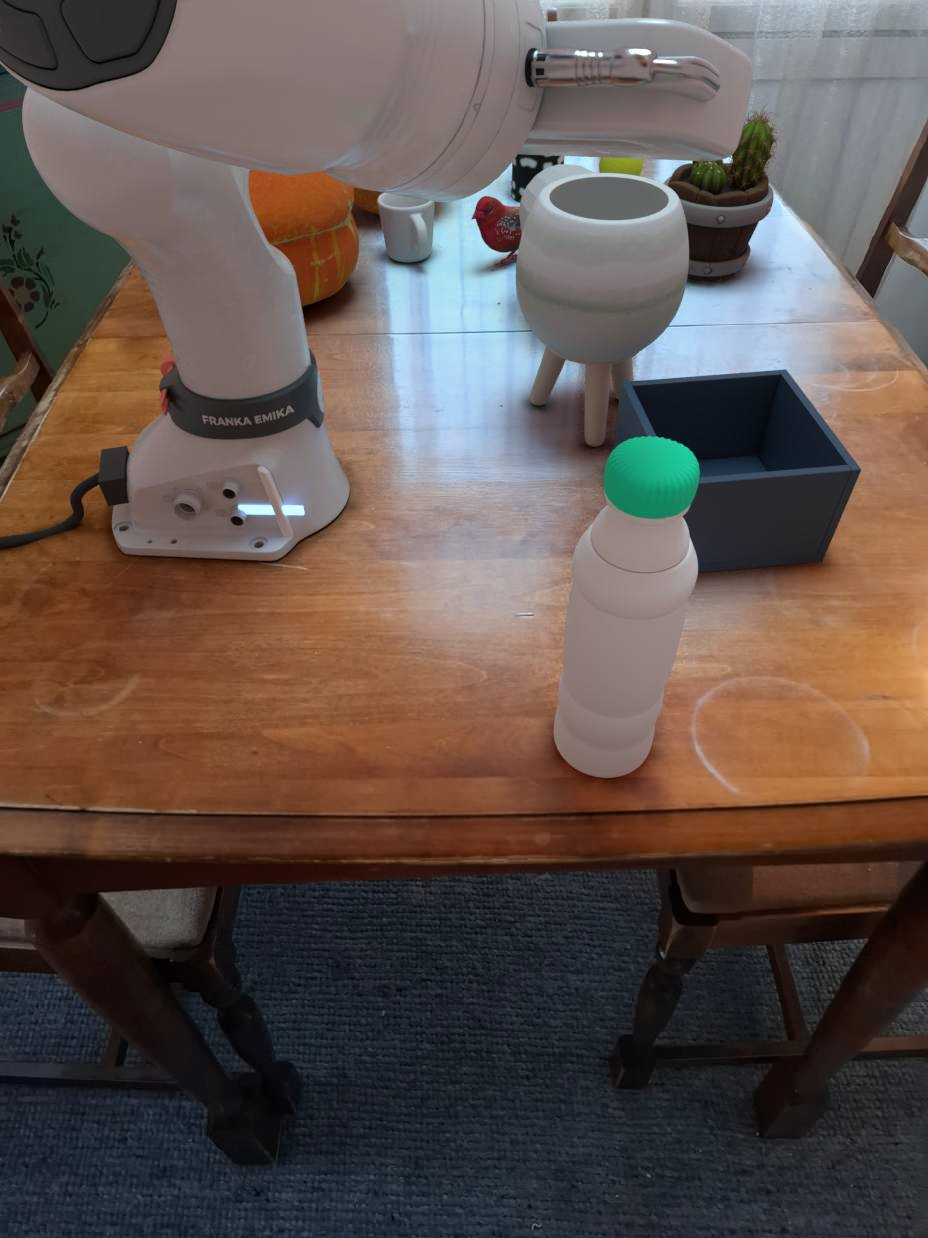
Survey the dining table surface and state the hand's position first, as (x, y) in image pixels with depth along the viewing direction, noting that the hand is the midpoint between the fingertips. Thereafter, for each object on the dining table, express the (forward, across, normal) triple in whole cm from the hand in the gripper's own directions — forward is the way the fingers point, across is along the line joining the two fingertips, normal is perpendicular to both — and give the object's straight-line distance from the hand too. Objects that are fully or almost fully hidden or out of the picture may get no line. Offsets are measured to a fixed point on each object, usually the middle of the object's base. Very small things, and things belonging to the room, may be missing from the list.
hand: (577, 128), depth 41 cm
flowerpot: (+78, +16, +6) cm, 80 cm away
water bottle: (+5, -6, +38) cm, 39 cm away
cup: (+60, +52, +9) cm, 80 cm away
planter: (+40, +14, +22) cm, 47 cm away
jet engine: (+55, +24, +14) cm, 62 cm away
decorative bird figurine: (+68, +40, +7) cm, 79 cm away
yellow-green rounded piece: (+98, +38, -5) cm, 106 cm away
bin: (+32, -4, +27) cm, 42 cm away
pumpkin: (+43, +61, +14) cm, 76 cm away
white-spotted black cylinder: (+89, +49, -2) cm, 102 cm away
